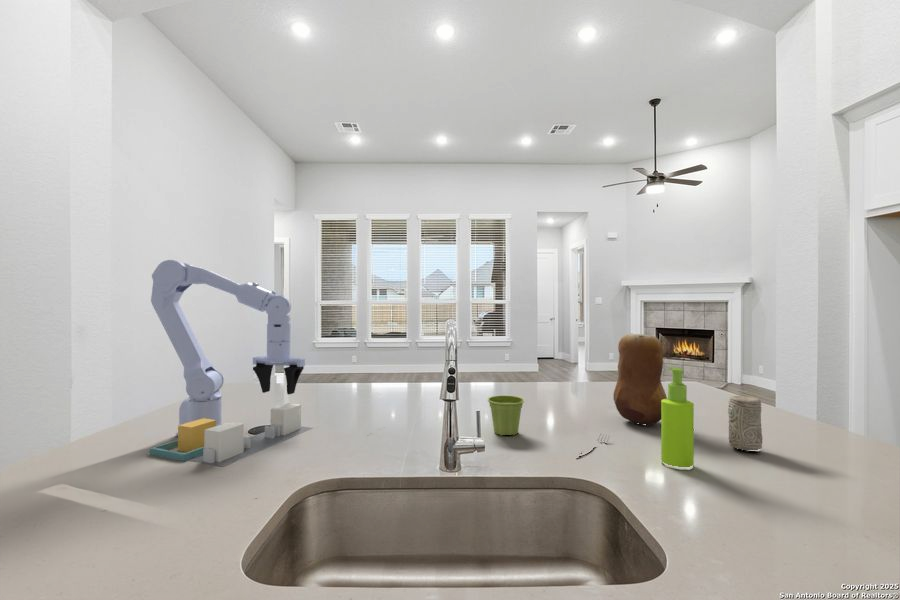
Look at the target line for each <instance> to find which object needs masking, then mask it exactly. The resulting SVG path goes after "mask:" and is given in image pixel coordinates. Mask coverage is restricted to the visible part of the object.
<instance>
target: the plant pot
mask: <svg viewBox="0 0 900 600" xmlns="http://www.w3.org/2000/svg"><path fill="white" fill-rule="evenodd" d="M487 402H488V403H489V407H490V411H491V417H492V419H491V420H492V426H493V433H494V432H495V434H496V435H498V434H500V435H499V436H502V435H510V436H511V435H512V436H516V435H518V434H519V429H520V421H521V420H520V419H521V413H522V408H523V404H524V402H525V399H524V398H523V397H520V396H515V395H503V394H502V395H495V396H489V397H488V398H487ZM517 433H518V434H517ZM515 434H516V435H515Z"/></svg>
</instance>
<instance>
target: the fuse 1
mask: <svg viewBox="0 0 900 600" xmlns="http://www.w3.org/2000/svg"><path fill="white" fill-rule="evenodd" d="M244 425H245V424H244V423H240V422H239V423H238V422H233V421H227V422H225V423H221V425H218V426H215V427H212V428H209V429H205V433H204V449H205V448H208V449H214V450H215V462H221V461H223V460H226V459H228V458H231V457H233V456H235V455H238V454H240V453H243V437H244V429H245V428H244V427H245V426H244Z"/></svg>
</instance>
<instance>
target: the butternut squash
mask: <svg viewBox="0 0 900 600" xmlns="http://www.w3.org/2000/svg"><path fill="white" fill-rule="evenodd" d="M617 347H618V355H619V356H618V363H617V371H618V373H617V381H616V384H615V386H614V387H615V388H614V390H613V401H614V404H615V407H616V410H617V412H618V413H619V415H620V416H621V417H622V418H623V419H625V420H628V421H629V422H630V421H631V422H633V423H634V422H635V423H634V424H636V423H639V424H646V425H648V426H649V425H654V424H655V425H656V424H657V423H659V422H660V421H661V400H663V399H668V396H667V395H666V394H667V393H666V391H665V389H664V386H663V384H662V383H663V382H662V381H661V378H662V377H661V376H662V373H663V367H664V356H663V346H662V342H661V340H660V339H659V338H657V337H656V336H654V335H649V334H647V335H646V334H641V333H633V332H632V333H630V332H629V333H626V334H624V335H622V337H621V338H620V340H619V342H618V346H617Z"/></svg>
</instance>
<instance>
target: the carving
mask: <svg viewBox="0 0 900 600" xmlns="http://www.w3.org/2000/svg"><path fill="white" fill-rule="evenodd" d="M727 415H728V440H729V441H728V444H729V445H731V446H733V447H735V448H738V449H743V450H758V449H763V440H764V439H763V431H762V430H763V429H762V401H761V399H759V398H757V397H753V396H746V395H732V396H731V397H730V398H729V400H728V407H727ZM731 446H730V447H731ZM733 447H732V448H733ZM735 448H734V449H735ZM738 449H737V450H738ZM743 450H742V451H743Z"/></svg>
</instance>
